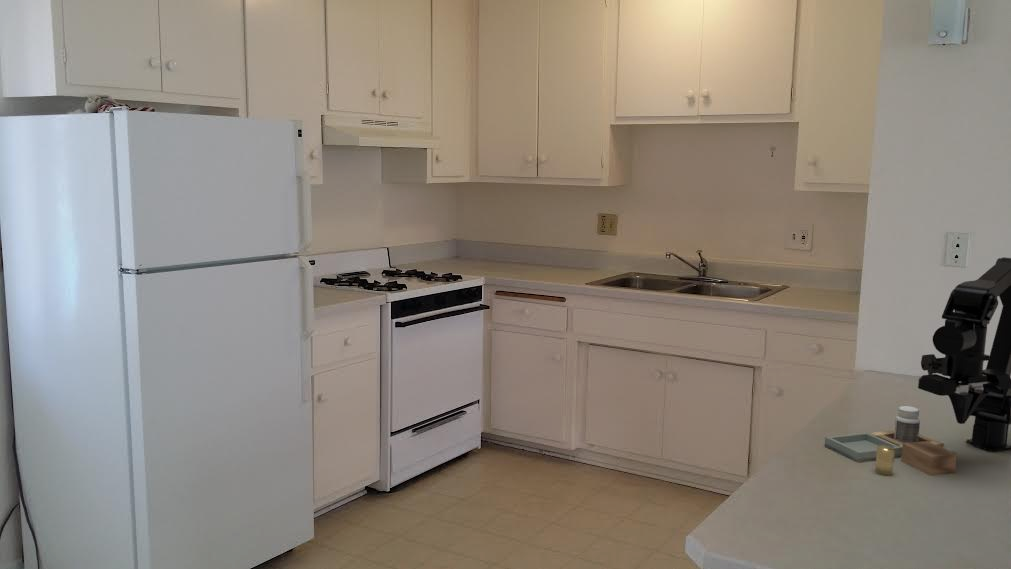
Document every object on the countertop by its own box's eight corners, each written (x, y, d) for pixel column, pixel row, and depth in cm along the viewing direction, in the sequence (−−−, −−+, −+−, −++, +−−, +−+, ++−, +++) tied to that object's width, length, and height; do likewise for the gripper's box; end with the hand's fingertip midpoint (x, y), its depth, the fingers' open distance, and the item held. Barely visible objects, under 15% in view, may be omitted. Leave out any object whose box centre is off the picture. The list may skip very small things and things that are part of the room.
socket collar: (906, 436, 189) (907, 428, 189) (943, 451, 180) (943, 443, 180) (869, 440, 186) (869, 432, 186) (903, 456, 177) (904, 448, 176)
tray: (866, 441, 186) (866, 432, 185) (900, 456, 176) (901, 447, 176) (824, 446, 182) (825, 437, 182) (857, 462, 173) (858, 452, 172)
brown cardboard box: (925, 459, 176) (927, 441, 175) (954, 474, 168) (956, 454, 167) (900, 461, 174) (902, 443, 174) (929, 476, 166) (931, 456, 166)
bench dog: (884, 468, 169) (886, 444, 169) (896, 474, 166) (898, 449, 166) (871, 470, 168) (873, 445, 168) (883, 476, 165) (885, 451, 165)
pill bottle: (921, 450, 181) (925, 412, 179) (899, 449, 181) (902, 411, 179) (911, 442, 185) (914, 405, 184) (889, 442, 185) (893, 405, 184)
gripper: (970, 336, 180) (963, 407, 183) (900, 342, 174) (894, 415, 177) (1017, 348, 170) (1008, 423, 172) (944, 354, 164) (936, 432, 166)
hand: (960, 423), depth 172 cm, fingers closed
